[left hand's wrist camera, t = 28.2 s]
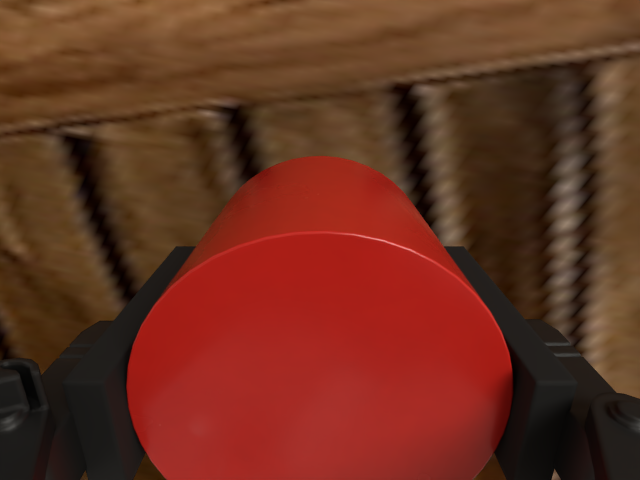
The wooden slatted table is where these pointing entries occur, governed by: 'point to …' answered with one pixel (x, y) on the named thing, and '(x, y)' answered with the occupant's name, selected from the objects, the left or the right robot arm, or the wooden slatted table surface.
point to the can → (319, 342)
